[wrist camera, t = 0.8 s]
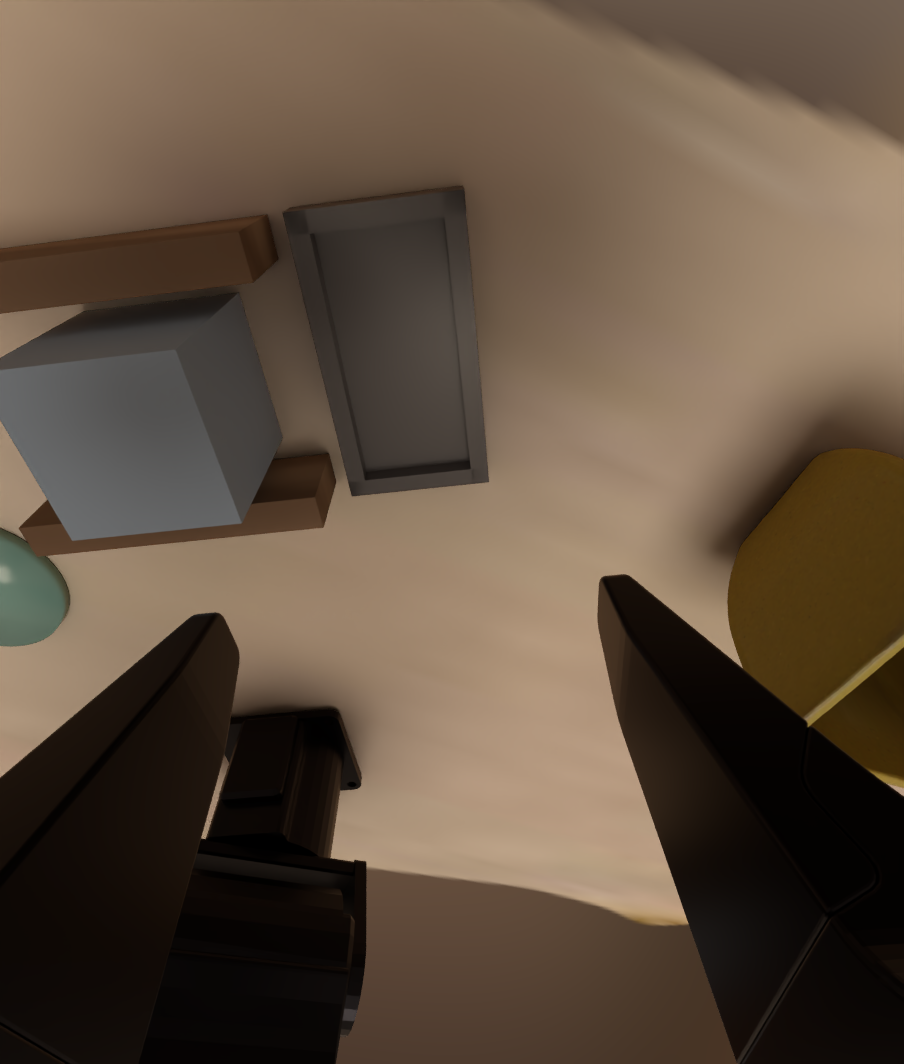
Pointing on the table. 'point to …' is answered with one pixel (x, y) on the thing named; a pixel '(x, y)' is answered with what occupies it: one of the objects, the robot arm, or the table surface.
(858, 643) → the flower pot
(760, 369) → the table surface
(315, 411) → the table surface
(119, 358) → the block
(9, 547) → the coaster
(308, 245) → the tray
